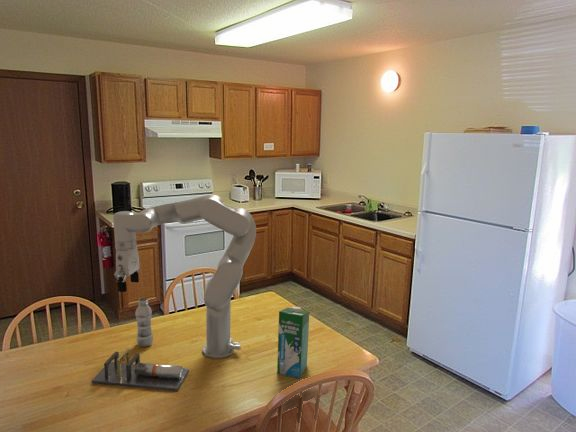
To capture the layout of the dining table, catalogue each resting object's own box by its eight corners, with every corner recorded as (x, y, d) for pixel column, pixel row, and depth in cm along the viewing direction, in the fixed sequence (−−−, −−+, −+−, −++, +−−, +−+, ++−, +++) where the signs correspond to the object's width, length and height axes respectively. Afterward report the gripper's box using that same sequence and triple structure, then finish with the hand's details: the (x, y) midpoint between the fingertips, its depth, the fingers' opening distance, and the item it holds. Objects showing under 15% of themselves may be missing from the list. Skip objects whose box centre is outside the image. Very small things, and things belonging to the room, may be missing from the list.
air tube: (182, 374, 152) (182, 363, 151) (178, 381, 147) (178, 370, 147) (140, 370, 153) (139, 359, 152) (134, 377, 149) (134, 366, 148)
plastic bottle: (155, 341, 176) (154, 296, 172) (149, 349, 170) (147, 303, 165) (141, 340, 177) (139, 295, 173) (133, 348, 170) (131, 302, 166)
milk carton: (307, 365, 162) (309, 305, 157) (300, 378, 154) (302, 315, 148) (285, 361, 165) (287, 301, 160) (277, 373, 156) (278, 311, 151)
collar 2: (140, 367, 155) (139, 353, 154) (130, 380, 147) (129, 365, 146) (136, 367, 155) (136, 353, 154) (126, 380, 147) (126, 365, 146)
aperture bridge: (130, 367, 155) (129, 348, 154) (120, 379, 148) (119, 359, 146) (128, 366, 155) (127, 348, 154) (117, 379, 148) (116, 359, 146)
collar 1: (119, 365, 156) (118, 351, 154) (108, 378, 148) (107, 363, 147) (116, 365, 156) (115, 351, 155) (105, 378, 148) (104, 363, 147)
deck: (189, 371, 156) (188, 368, 155) (177, 391, 144) (177, 388, 144) (109, 364, 158) (109, 361, 158) (91, 383, 147) (91, 380, 146)
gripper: (123, 251, 150) (127, 296, 153) (145, 238, 166) (148, 279, 170) (104, 250, 150) (107, 294, 154) (127, 237, 167) (130, 278, 171)
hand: (128, 286), depth 162 cm, fingers open, 9 cm apart
